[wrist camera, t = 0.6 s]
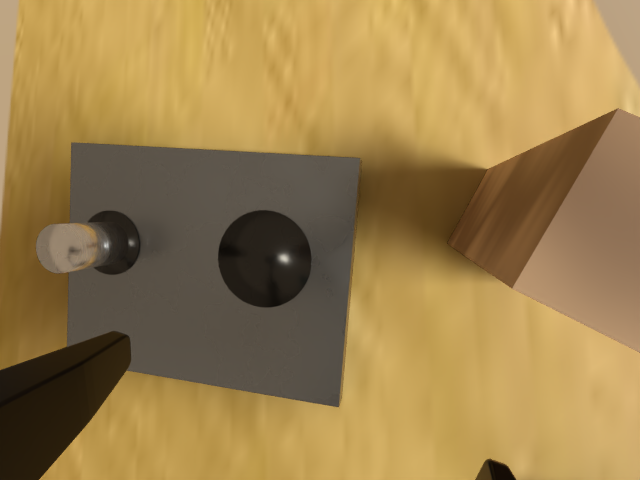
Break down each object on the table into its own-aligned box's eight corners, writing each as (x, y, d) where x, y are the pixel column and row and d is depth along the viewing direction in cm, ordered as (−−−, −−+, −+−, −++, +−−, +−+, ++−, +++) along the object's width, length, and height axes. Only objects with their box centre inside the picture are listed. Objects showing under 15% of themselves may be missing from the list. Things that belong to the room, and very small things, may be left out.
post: (524, 281, 21) (706, 386, 9) (446, 243, 22) (511, 288, 9) (568, 206, 21) (838, 200, 8) (487, 169, 21) (618, 108, 9)
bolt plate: (341, 397, 24) (326, 448, 19) (81, 353, 27) (8, 386, 22) (362, 160, 23) (351, 146, 18) (86, 145, 26) (10, 129, 21)
